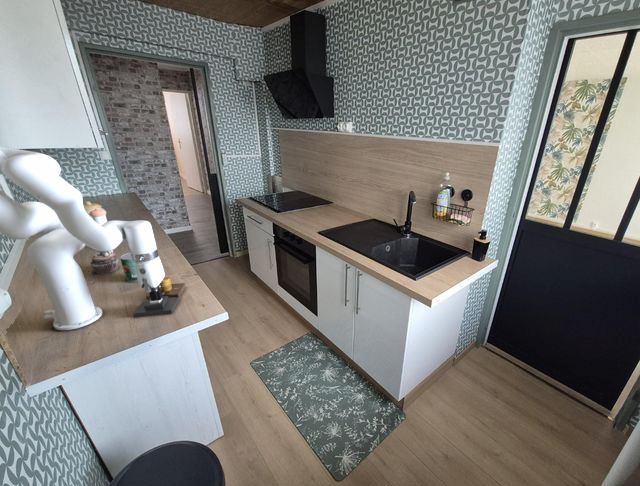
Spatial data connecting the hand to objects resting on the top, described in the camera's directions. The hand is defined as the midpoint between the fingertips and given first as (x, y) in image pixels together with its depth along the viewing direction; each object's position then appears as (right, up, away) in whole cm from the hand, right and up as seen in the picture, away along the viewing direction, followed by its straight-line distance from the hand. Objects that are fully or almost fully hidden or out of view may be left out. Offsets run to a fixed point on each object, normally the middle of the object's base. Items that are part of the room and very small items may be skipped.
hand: (157, 299), depth 110 cm
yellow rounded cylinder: (-3, +2, +9) cm, 10 cm away
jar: (-91, +30, +72) cm, 120 cm away
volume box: (-3, 0, +10) cm, 11 cm away
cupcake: (-42, +8, +26) cm, 51 cm away
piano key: (0, -2, +1) cm, 2 cm away
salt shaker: (-70, +22, +57) cm, 93 cm away
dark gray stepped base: (-1, -4, +1) cm, 4 cm away
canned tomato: (-24, +5, +22) cm, 33 cm away
